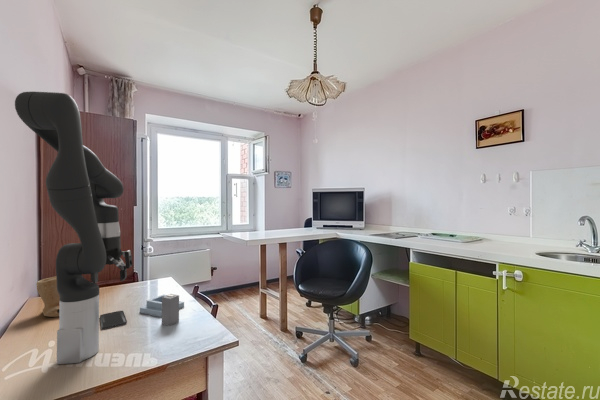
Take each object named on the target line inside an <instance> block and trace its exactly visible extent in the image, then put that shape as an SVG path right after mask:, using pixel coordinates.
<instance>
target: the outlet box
mask: <svg viewBox="0 0 600 400" xmlns="http://www.w3.org/2000/svg"><path fill="white" fill-rule="evenodd" d="M166 295H167V294H162V295H159V296H156V297H153V298H151V299H148V300H146V304H145V305H143V306H140V307H139V313H140V314H141V313H142V314H144V315H145V314H146V315H150V316H154V317H158V318H162V297H164V296H166ZM184 307H185V301H180V300H179V310H180V309H182V308H184Z"/></svg>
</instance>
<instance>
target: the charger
mask: <svg viewBox="0 0 600 400" xmlns="http://www.w3.org/2000/svg"><path fill="white" fill-rule="evenodd" d="M165 295H166V296H164V297H162V317H161V325H165V326H169V327H170V326H173V325H175V324H177V323H179V322H180V309H179V301H180V295H178V294H173V293H170V294H165Z"/></svg>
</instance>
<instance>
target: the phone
mask: <svg viewBox="0 0 600 400" xmlns="http://www.w3.org/2000/svg"><path fill="white" fill-rule="evenodd" d="M99 322H100V328H101V330H103V331H105V330H108V329H113V328H117V327H121V326H125V325H127V323H128V321H127V318H126V315H125V312H124V310H117V311H113V312H107V313H103V314H99Z"/></svg>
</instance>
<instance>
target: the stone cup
mask: <svg viewBox="0 0 600 400" xmlns="http://www.w3.org/2000/svg"><path fill="white" fill-rule="evenodd" d="M36 290H37V291H36V292H37V293H38V295H39V297H40V298H41V300H42V302H43V304H44V307H43V308H42V314H43V316H45V317H50V318H51V317H53V318H54V317H56V318H57V317H59V308H60V296H59V294H58V291H57V280H56V275H54V276H52V277H47V278H43V279H40V280H38V281H37V282H36Z"/></svg>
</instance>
